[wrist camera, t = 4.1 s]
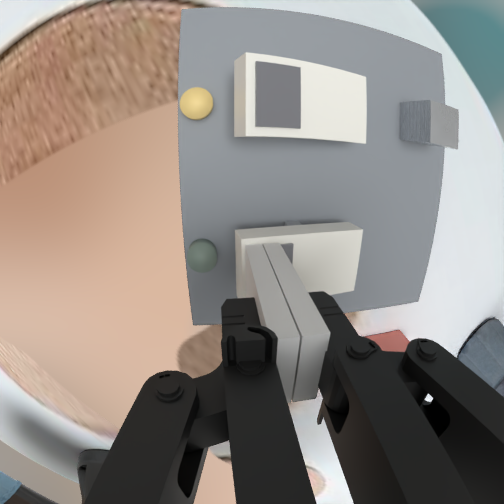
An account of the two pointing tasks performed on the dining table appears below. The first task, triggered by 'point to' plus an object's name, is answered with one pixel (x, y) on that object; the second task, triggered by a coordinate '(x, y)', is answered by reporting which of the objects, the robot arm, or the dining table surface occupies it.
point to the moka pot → (487, 354)
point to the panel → (304, 155)
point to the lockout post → (429, 123)
